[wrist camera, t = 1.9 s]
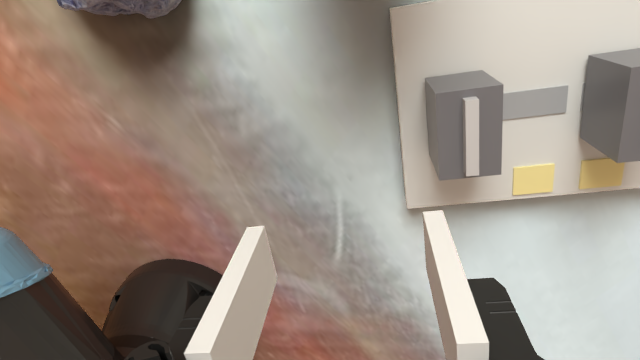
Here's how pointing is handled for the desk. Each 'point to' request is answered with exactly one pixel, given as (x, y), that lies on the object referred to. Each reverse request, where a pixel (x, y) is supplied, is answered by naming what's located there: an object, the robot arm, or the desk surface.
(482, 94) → the slider
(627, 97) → the slider
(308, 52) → the desk surface
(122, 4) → the rock
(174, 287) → the robot arm
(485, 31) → the console
